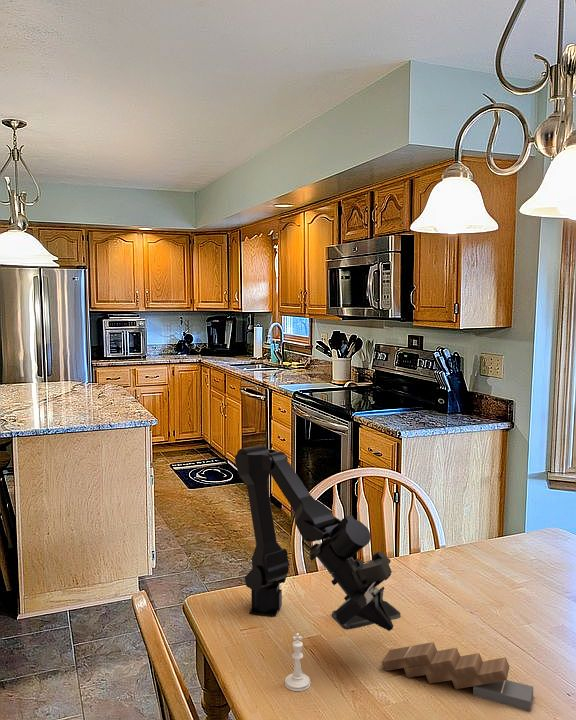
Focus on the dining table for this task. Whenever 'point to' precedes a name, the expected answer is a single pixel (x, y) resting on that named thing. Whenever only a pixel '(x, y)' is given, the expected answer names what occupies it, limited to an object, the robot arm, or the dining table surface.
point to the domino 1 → (409, 656)
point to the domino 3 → (459, 669)
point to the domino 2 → (436, 663)
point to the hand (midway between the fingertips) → (391, 629)
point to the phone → (360, 622)
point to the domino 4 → (486, 674)
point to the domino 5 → (506, 693)
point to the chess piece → (297, 669)
